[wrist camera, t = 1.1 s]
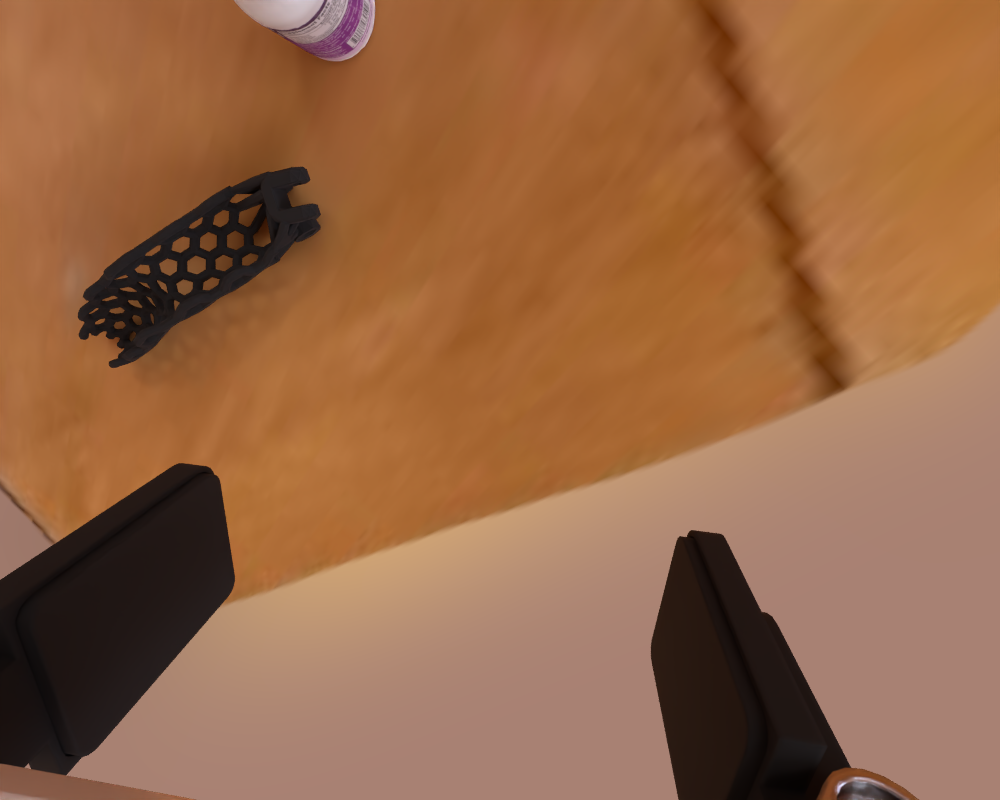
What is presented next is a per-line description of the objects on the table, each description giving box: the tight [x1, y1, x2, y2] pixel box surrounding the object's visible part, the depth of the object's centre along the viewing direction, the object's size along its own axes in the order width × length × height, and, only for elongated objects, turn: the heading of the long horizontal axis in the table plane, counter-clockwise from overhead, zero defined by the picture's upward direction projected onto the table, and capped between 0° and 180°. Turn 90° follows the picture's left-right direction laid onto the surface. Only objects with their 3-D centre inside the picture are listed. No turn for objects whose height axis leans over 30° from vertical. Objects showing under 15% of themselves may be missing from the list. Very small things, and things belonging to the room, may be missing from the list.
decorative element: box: [78, 167, 321, 368], centre depth 33 cm, size 22×5×6 cm, turn 122°
